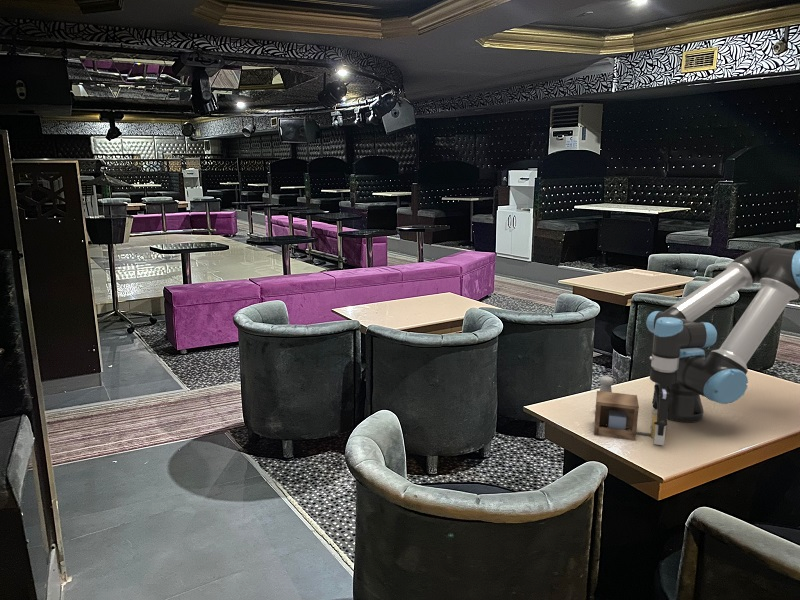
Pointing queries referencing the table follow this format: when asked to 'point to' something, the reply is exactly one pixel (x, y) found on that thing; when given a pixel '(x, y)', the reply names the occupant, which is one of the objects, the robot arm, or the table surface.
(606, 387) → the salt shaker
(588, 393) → the table surface
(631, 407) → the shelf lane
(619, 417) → the tethered block
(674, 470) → the table surface
